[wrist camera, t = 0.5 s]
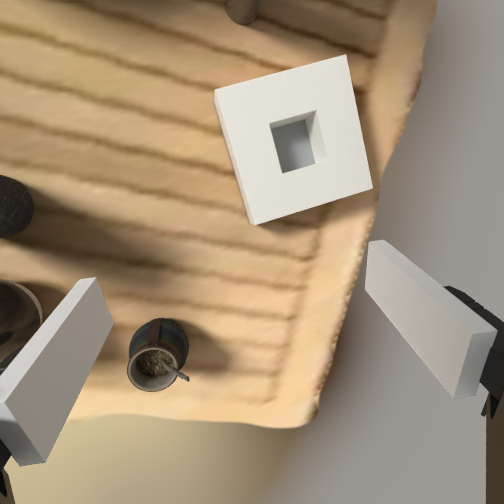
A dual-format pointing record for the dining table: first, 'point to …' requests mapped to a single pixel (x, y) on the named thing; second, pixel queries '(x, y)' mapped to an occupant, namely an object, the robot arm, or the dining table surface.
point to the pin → (242, 10)
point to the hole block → (294, 139)
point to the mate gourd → (157, 355)
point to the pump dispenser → (17, 316)
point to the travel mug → (13, 207)
